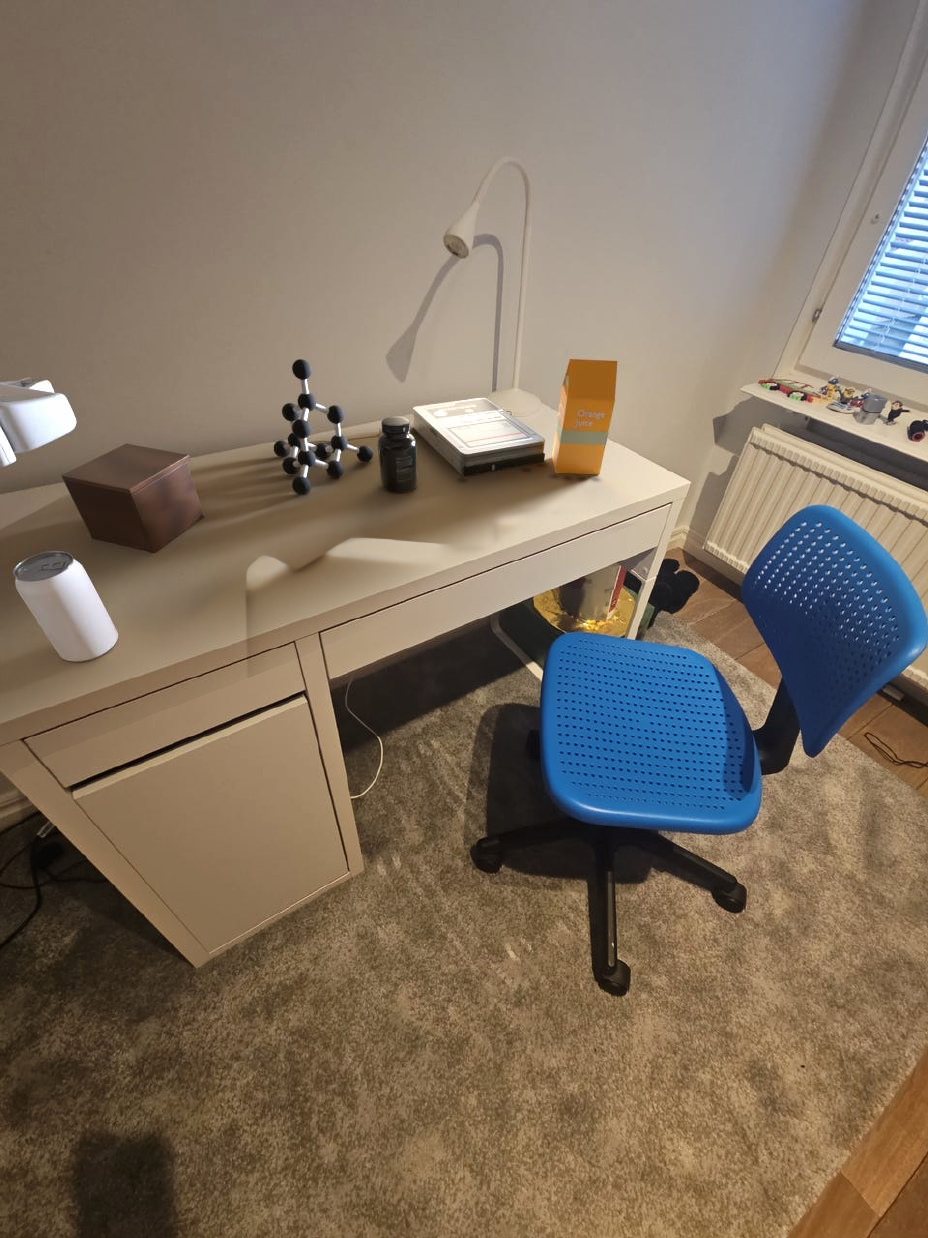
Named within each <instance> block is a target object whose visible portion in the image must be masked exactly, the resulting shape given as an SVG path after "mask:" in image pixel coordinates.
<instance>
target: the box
mask: <svg viewBox="0 0 928 1238" xmlns="http://www.w3.org/2000/svg"><path fill="white" fill-rule="evenodd" d="M63 482H64V485H65V487H66V488H67V491H68V493H69V495H70V497H71V499H72V501H73V503H74V504H75V507H76V509H77V511H78V513H79V515H80V517H81V519H82V521H83V523H84V525H85V527H86V530H87V531H88V533H89V535H90V537H91V539H92V540H93V539H94V540H98V541H102V542H106V543H110V544H115V545H119V546H123V547H128V548H132V549H136V550H141V551H145V552H148V553H149V552H150V553H154V554H157V553H158V552H159V551H161V549H163V548H164V547H165V546H167V545H168V544H170V543H171V542H172V541H174V540H175V539H176V538H178V537H179V536H180V535H183V533H184V532H186V531H187V530H189V529H190V528H191V527H193V526H194V525H196V524H198V522H200V521H201V520H202V519H204V518H205V515H204V512H203V509H202V506H201V503H200V500H199V497H198V494H197V491H196V487H195V484H194V481H193V478H192V474H191V472H190V469H189V465H188V461H187V462H185V463H184V464H182V465H180V466H179V467H177V468H175V469H174V470H172V471H170V472H168V473H167V474H165V475H163V476H162V477H160V478H158V479H157V480H155V481H153V482H151V483H150V484H148V485H146V486H145V487H143V488H141V489H140V490H138V491H136V492H134V493H133V494H127V493H122V492H117V491H112V490H108V489H103V488H98V487H93V486H88V485H84V484H79V483H74V482H69V481H64V480H63Z"/></svg>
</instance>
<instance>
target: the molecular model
mask: <svg viewBox="0 0 928 1238" xmlns="http://www.w3.org/2000/svg"><path fill="white" fill-rule="evenodd" d="M291 370H292V374H293V375H294V377H295V378H296V379H298V380H300V385H301V392H300V394H298V397H297V404H295V403H293V402H287V403H285V404H284V405H283V406H282V409H281V414H282V417H283V418H284V419H285V420H286V421H287V422H290V423H289V424H290V427H291V433H289V435H288V436H287V441H285V440H281V439H280V440H277V441H276V442H275V443H274V444H273V452H274V454H275V455H276V456H277V457H279V458H284V459H283V461H282V464H281V467H282V470H283V471H284V473H285V474H287V475H290V476H295V475H297V474H298V473H299V472H300V474H299V476H296V477H295V478H293V480H292V482H291V488H292V490H293V492H294V493H295V494H296V495H300V496H304V495H307V494H308V493H310V491H311V487H312V485H311V482H310V480H309V479H308V478H307V474H308V470H309V468H312V467H313V466H317V467H319V468H322V469H325V471H326V474H327V475H328V476H329V477H330V478H333V479H339V478H340V477H342V476H343V474H344V470H345V469H344V465H343V464H342V462H340V458H341V453H342V452H344V451H348V452H352V453H354V454H356V457H357V459H358V460H359V461H360V462H361V463H369V462H371V461H372V460H373V458H374V451H373V449H372V448H371V447H370V446H369V445H365V444H364V445H360V446H359V447H356V446H353V445H350V444H349V443H348V439H347V438H346V436H345V435H343V434H342V432H341V423H342V422H344V420H345V417H346V416H345V411H344V409H343V408H342V407H341V406H339V405H337V404H334V405H333V404H332V405H330V406H329V407H327V406H326V407H325V406H323V405H322V404H318V403H317V399H316V397H315V396H314V395H313V394H312V393H311V392H310V391H309V387H308V381H307V380H308V379H309V378H310V377H311V376H312V372H313V368H312V366H311V364H310V363H309V361H307V360H305V359H303V358H299V359H296V360H294V362H293V363H292V366H291ZM314 410H316V411H318V412H320V413H323V414H325V415H326V418H327V420H328V422H330V423H331V424H333V426H334V427H333V428H334V435H333V436H331V439H330V442H329V443H330V444H329V443H326V442H320V443H318V444H316V445H314V444H312V443H309V442H308V441H307V438H309V436H310V435H311V434H312V426H311V423H310V422H309V421H307V420H308V416H309V412H313V411H314ZM298 450H299V452H298ZM332 451H334V455H333V460H329V458H331V456H332V453H333V452H332ZM289 455H290V456H289ZM317 458H318V459H317ZM321 460H322V461H321ZM325 460H329V461H328V463H327V462H325ZM300 470H301V471H300Z"/></svg>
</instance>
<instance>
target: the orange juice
mask: <svg viewBox="0 0 928 1238" xmlns="http://www.w3.org/2000/svg"><path fill="white" fill-rule="evenodd" d="M617 372H618V360H601V359H581V358H580V359H579V358H569V360H568V365H567V367H566V371H565V374H564V379H563V383H562V385H561V391H560V398H559V407H558V413H557V418H556V426H555V433H554V441H553V447H552V456H551V458H552V462H553V463H552V464H553V467H554V471H555V473H556V474H577V475H578V474H579V475H600V474H601V469H602V464H603V461H604V460H603V459H604V455H605V450H606V446H607V442H608V437H609V431H610V426H611V422H612V416H613V411H614V407H615V402H616V387H617Z"/></svg>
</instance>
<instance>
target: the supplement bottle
mask: <svg viewBox="0 0 928 1238" xmlns="http://www.w3.org/2000/svg"><path fill="white" fill-rule="evenodd" d="M410 432H411V428H410V420H409V419H408V418H406V417H403V416H388V417H385V418H383V419H382V420H381V435H380V436H379V437H378V440H377V442H376V443H377V444H376V445H377V455H378V469H379V476H380V477H379V478H380V485H381V487H382V488H383V489H384V490H385V491H387V492H389V493H398V494H401V493H407V492H410V491H412V490H414V489H415V488H416V487H417V484H418V460H417V441H416V438H415V436H413V435H412V434H411V433H410Z"/></svg>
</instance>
